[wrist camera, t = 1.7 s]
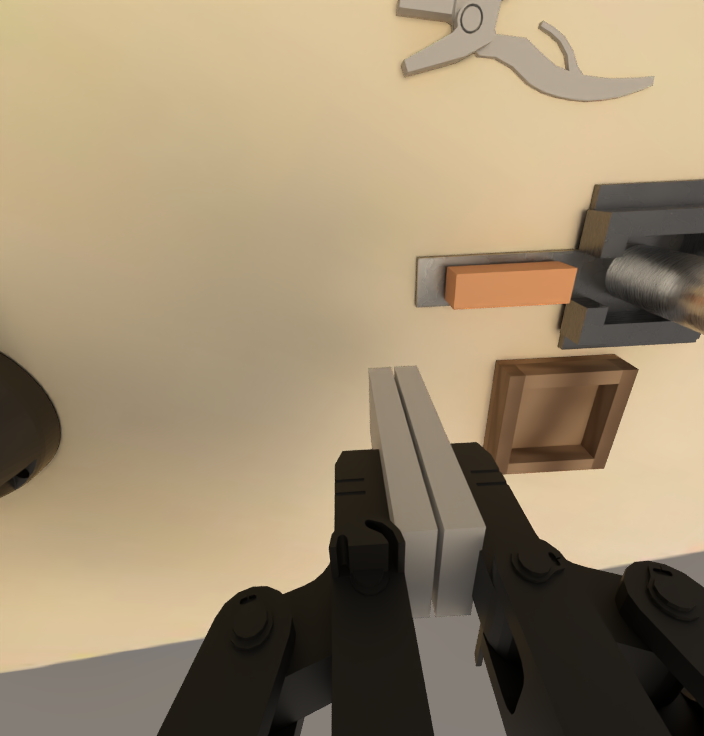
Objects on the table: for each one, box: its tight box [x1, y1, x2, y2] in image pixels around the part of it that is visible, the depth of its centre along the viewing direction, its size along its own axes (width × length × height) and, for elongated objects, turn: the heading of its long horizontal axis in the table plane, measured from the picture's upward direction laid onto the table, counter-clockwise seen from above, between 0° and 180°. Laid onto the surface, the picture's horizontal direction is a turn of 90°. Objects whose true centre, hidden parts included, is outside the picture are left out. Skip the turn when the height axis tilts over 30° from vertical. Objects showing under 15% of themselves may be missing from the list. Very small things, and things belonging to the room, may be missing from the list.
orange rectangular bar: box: [445, 261, 578, 309], centre depth 26 cm, size 8×2×2 cm, turn 92°
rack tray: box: [483, 354, 639, 474], centre depth 32 cm, size 10×10×3 cm
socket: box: [415, 180, 704, 350], centre depth 26 cm, size 23×12×3 cm, turn 92°
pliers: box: [396, 0, 654, 102], centre depth 21 cm, size 10×2×15 cm
